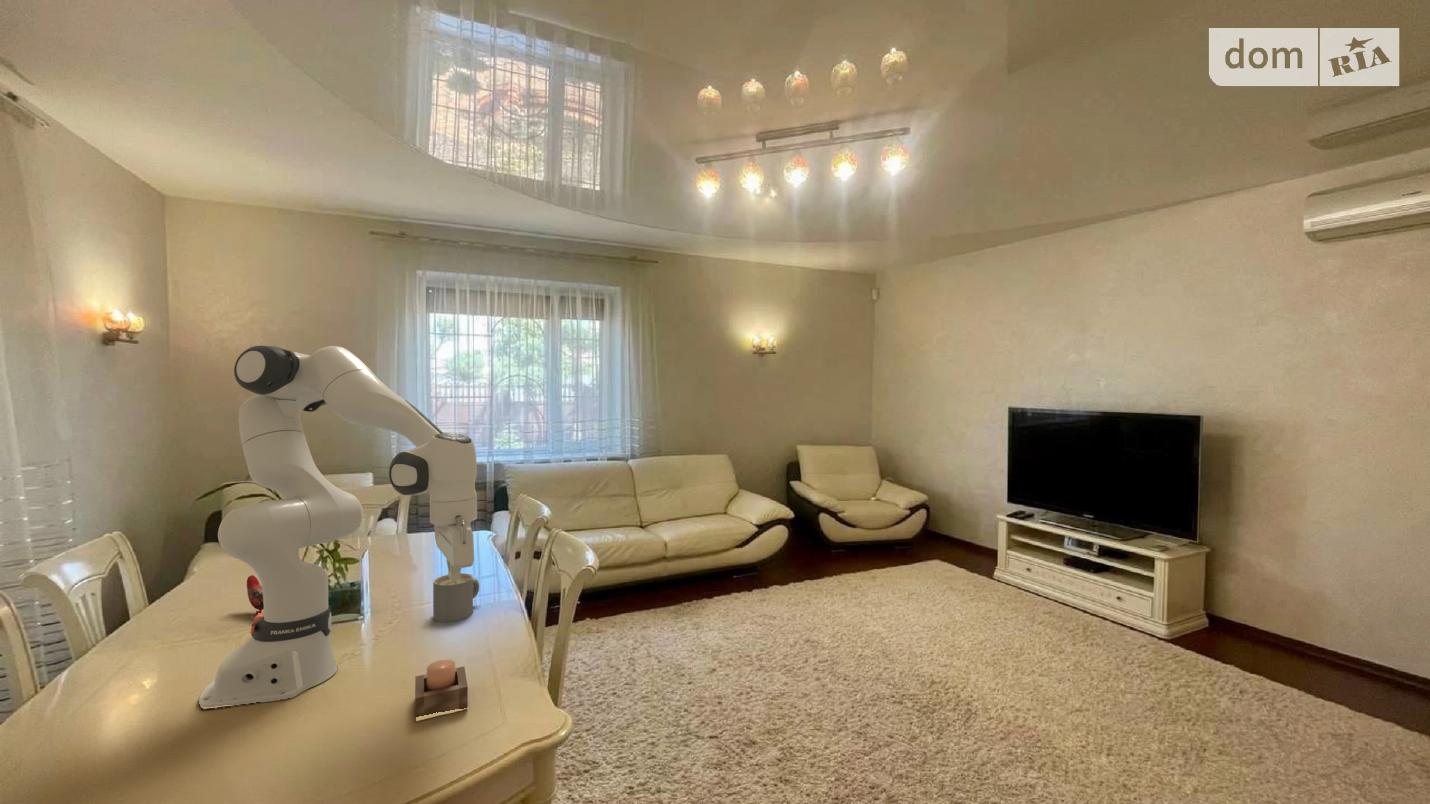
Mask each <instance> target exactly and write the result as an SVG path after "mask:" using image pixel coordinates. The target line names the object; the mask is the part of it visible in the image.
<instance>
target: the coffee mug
mask: <svg viewBox="0 0 1430 804" xmlns="http://www.w3.org/2000/svg"><path fill="white" fill-rule="evenodd" d="M432 584H433V586H432V587H433V588H432V589H433V590H432V592H433V595H432V598H433V599H432V601H433V602H432V603H433V605H432V607H433V608H432V609H433V613H432V616H433V617H432V618H433V620H434V621H435V622H440V623H453V622H458V621H461V620H465V619H467V618H469V617H471V616H472V615H473V612H474V599H475V598H476V597H477V596H478V594H479V592H480V582H479V580H478V579H477V578H475V577H474V576H473V575H472V574H470V573H465V572H460V579H459V580H457V581H451V579H450V578H449V576H448V574H444V575H441V576H439V577H436V578H435V579H434V580H433V582H432Z"/></svg>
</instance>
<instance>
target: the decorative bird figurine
mask: <svg viewBox="0 0 1430 804" xmlns="http://www.w3.org/2000/svg"><path fill="white" fill-rule="evenodd" d="M246 589H247V590H246V591H247V598H248V601H249V603H250V604H251V606H252V608H254V610H255V609H256V610H255V611H256V612H255V614H256V613H260V614H261V613H262V612H263V611H264V604H263V592H262V585H261V582H260V580H259V579H258V577H256V575H252V574H251V575H249V576H248V577H247V579H246Z"/></svg>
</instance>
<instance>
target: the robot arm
mask: <svg viewBox="0 0 1430 804" xmlns="http://www.w3.org/2000/svg"><path fill="white" fill-rule="evenodd" d="M233 372H234V373H233V374H234V379H235V381H236V382H237V384H238V385H239V386H240V387H241V388H242V389H245V390H247V391H249V392H251V393H253V394H255V395H254V396H252V397H249V398H247V399H246V400H245V401H243V402H242V403H241V405H240V406H239V410H238V428H239V429H238V430H239V431H238V432H239V437H240V442H241V447H242V450H243V455H244V459H245V461H246V463H245V464H246V467H247V471H248V474H249V477H250V478H251V480H252V481H253V482H254V483H255V484H257V485H258V486H260V487H263V488H267V489H270V490H273V491H276V492H277V493H279V494H280V495H282V496H283V497H284V498H281V499H275V500H268V501H266V500H265V501H259V502H255V503H251V504H249V505H246V506H242V507H239V508H236V509H233V510H230V511H229V512H228V513H227V514H225V516H224V518H223V519H222V520H221V522H220V524H219V527H218V531H217V539H218V543H219V545H220V547H221V549H223V551H224V552H225V553H226V554H228V556H231V557H233V558H234V559H237V560H240V561H242V562H243V563H246V564H247V565H248V566H249V567H250V568H251V569H253V571H254V572H255V573H256V575H257V578H259V579H258V580H259V582H260V585H261V586H262V592H263V604H264V609H263V613H262V612H261V614H256V615H255V617H254V618H253V620H252V624H251V626H250V627H251V628H250V635H251V637H250V638H249V639H248V640H247V641H245V642H244V643H243V644H241V645H240V646H239V647H238V648H236V649H235V650H233V651H232V652H231V653H230V654H229V655H227V656H226V657H225V658H224V660H222V661H221V663H220V664H219V667H218V668H217V671H216V676H215V677H214V678H215V679H214V680H212V681H211V682H210V683H209V684H208V685H207V686H205V688H204V689H203V691H202V692H201V693H200V696H199V699H198V705H199V704H200V705H201V706H202V707H215V706H223V705H237V704H246V703H247V704H246V705H250V704H249V703H254V704H257V703H256V702H261V703H267V702H273V701H274V702H276V700H277V701H283V699H284V700H288V699H287V698H290V699H292V698H295V697H296V696H298V695H300V694H301V693H302V692H303V693H304V691H306V690H309V689H310V688H312V687H315V686H317V685H319V684H322V683H323V682H325V681H326V680H328V679H330V678H331V677H332V676H334V675H335V674H336V672H337V670H338V664H337V663H336V660H335V656H334V653H333V649H332V643H331V642H332V641H331V636H330V634H331V631H332V612H331V606H330V605H329V575H328V573H327V572H326V570H325V568H323V567H322V566H320V565H319V564H318V565H317V564H314V563H311V562H307V561H302V560H301V557H300V553H299V552H300V550H301V549H303V548H308V547H312V546H317V545H321V544H326V543H330V542H335V541H338V540H339V539H342V538H345V537H347V536H349V535H352V534H354V533H355V532H357V530H358V529H359V528H360V526H361V525H362V522H363V518H364V509H363V505H362V504H361V503H362V502H360V500H359V498H357V497H356V496H355V495H354V494H353V493H351V492H348V491H345V490H343V489H341V488H339V487H338V486H336V485H334V484H333V483H332V482H330V481H329V480H328V479H327V478H326V477H325V476H324V474H322V472H320V470H319V468H318V467H317V465H316V463H315V461H314V458H313V457H312V454H311V450H310V448H309V445H308V441H307V437H306V435H305V432H304V428H303V425H302V420H301V415H302V412H303V411H304V412H309V413H310V412H311V413H312V412H315V411H317V410H318V409H319V408H321V407H322V406H325V405H327V406H328V407H329V408H330V409H329V410H331V411H332V412H333V413H334V414H335V415H336V416H338V417H339V418H340V419H342V420H343V421H345V422H346V423H349V424H351V425H356V426H361V427H370V428H378V429H383V430H387V431H392V432H395V433H397V434H399V435H402V436H403V437H404V438H406V439H407V440H408V441H409V442H410V443H412V444H413V445H414V446H415V447H413V448H410V449H407V450H404V451H401V452H398V453H397V454H396V455H395V456H394V457H393V459H392V460H391V461H390V465H389V467H388V478H389V483H390V484H391V486H392V488H393V489H394V490H395V491H396V492H398V494H400V495H403V496H419V495H423V494H429V523H430V524H432V525H433V530H434V539H435V544H436V547H437V549H438V551H440V553H442V554H443V556H444V557H445V560H446V561H445V562H446V565H447V575H448V576H449V578H450V579H451V581H457V580H459V579H460V573H461V570H462V569H463V568H468V567H469V568H470V567H472V566H473V565H474V560H475V552H474V551H475V550H474V545H475V544H474V533H473V530H472V527H471V526H472V525H471V524H472V522H473V521H476V520H477V518H478V494H477V490H476V481H477V477H478V476H477V474H478V472H477V471H478V466H477V452H476V447H475V443H474V441H473V440H472V438H471V437H469V436H468V435H464V434H461V433H451V432H443V431H442V430H441V429H440V428H439V427H438V426H437V425H436V424H434V422H432V421H431V420H430V419H429V418H428V417H427V415H425V414H423V412H421V410H420V409H418V408H417V407H416V406H415V405H413V404H412V403H410V402H409V401H408V400H407V399H404V398H403V397H401V396H400V395H398V394H397V393H396V392H394V391H393V390H392V389H390V388H389V387H388V386H387V385H386V384H384V382H383V381H382V380H380V378H379V377H378V376H376V375H375V373H374V372H373V370H371V369H370V368H369V366H367V364H365V363H364V361H362V360H361V359H360V358H359V357H358V356H357V355H355V354H354V353H352V352H351V351H349V350H348V349H346V348H345V347H343V346H337V345H329V346H325V347H322V348H319V349H317V350H315V352H313V353H312V354H311V355H310V354H306V353H302V352H297V351H293V350H289V349H285V348H282V347H278V346H275V345H274V346H271V345H255V346H250V347H249V348H246V349H245V350H244V351H243V352H242V353H241V354H240V355H239V356H238V358H237V359H236V361H235V363H234V368H233ZM280 699H282V700H280Z"/></svg>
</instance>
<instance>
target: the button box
mask: <svg viewBox="0 0 1430 804" xmlns="http://www.w3.org/2000/svg"><path fill="white" fill-rule="evenodd" d="M414 682H415V683H414V691H415V692H414V718H415V717H419V716H424V715H429V714H433V713H436V712H437V713H438V712H445V711H450V710H455V709H464V708H467V707H468V704H469V703H468V701H469V700H468V697H469V695H468V694H469V693H468V692H469V691H468V690H469V689H468V687H469V686H468V680H467V673H466V668H465V666H459V667H455V685H454V686H451V687H447V688H442V689H438V690H433V691H427V673H425V674H420V675H417V676H415V681H414ZM468 708H469V707H468Z"/></svg>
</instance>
